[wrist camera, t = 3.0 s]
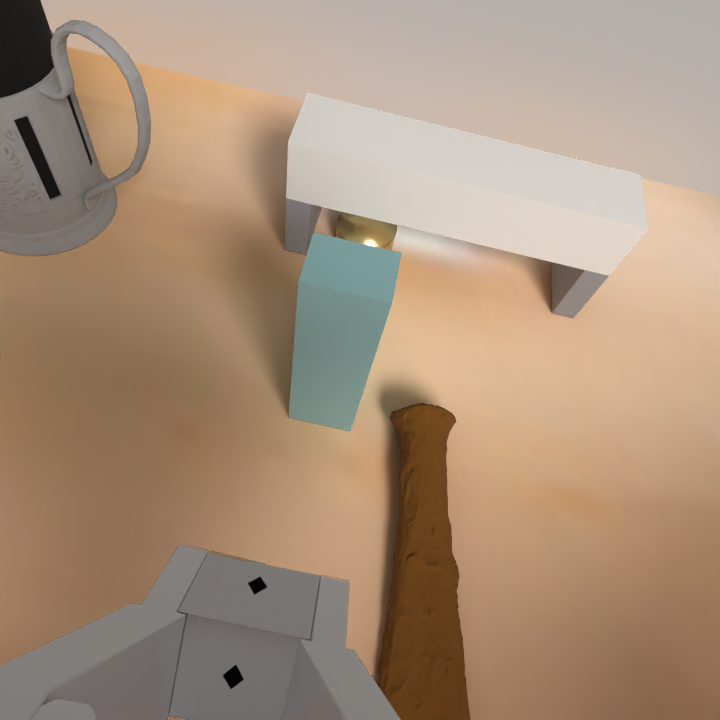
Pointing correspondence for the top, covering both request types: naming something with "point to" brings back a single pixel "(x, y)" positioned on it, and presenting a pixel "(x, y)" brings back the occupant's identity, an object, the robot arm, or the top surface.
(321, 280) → the block
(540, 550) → the top surface
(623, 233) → the white bench
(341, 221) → the token
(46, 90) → the glass holder
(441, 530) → the primitive tool
